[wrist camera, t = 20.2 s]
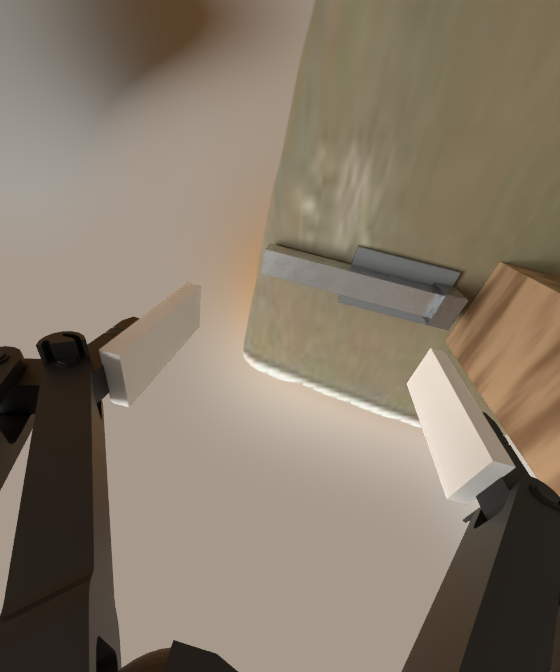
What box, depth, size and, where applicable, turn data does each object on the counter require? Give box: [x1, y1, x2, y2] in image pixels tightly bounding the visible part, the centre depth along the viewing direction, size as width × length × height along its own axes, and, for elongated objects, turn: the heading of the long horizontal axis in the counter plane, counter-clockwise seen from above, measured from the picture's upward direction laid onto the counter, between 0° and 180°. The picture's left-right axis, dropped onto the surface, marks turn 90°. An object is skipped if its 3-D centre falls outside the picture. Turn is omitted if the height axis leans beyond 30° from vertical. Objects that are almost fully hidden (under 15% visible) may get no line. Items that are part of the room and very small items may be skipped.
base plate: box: [338, 246, 460, 325], centre depth 40 cm, size 15×9×1 cm, turn 78°
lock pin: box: [261, 244, 468, 330], centre depth 38 cm, size 28×5×5 cm, turn 78°
